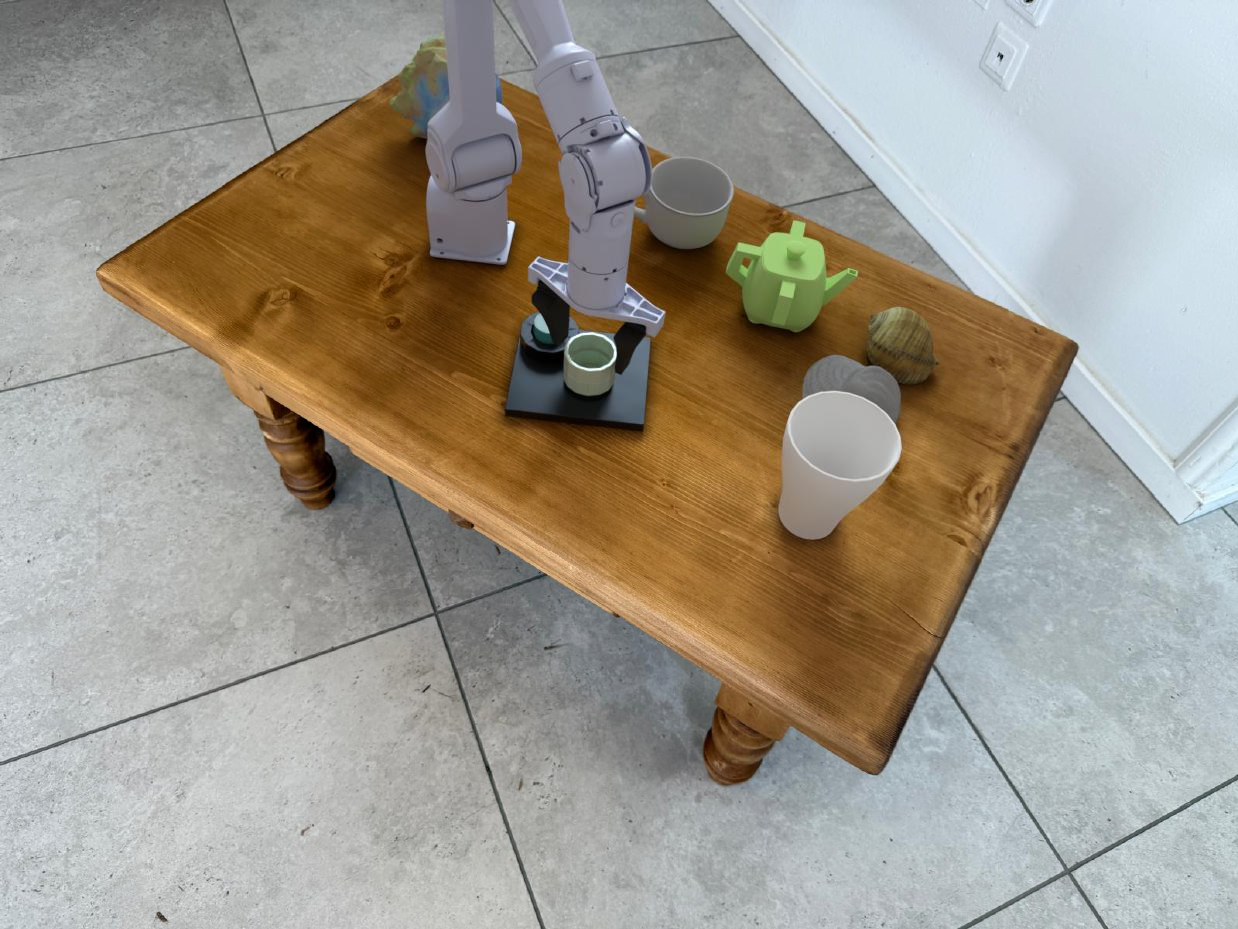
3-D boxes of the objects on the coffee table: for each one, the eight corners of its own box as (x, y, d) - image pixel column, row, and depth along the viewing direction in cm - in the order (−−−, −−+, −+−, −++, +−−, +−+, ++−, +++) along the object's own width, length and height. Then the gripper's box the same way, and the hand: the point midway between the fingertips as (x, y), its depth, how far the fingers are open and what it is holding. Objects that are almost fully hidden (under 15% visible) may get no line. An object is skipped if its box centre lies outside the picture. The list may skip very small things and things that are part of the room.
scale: (504, 416, 95) (504, 398, 93) (523, 325, 103) (522, 307, 101) (643, 431, 96) (645, 414, 93) (650, 340, 104) (653, 321, 101)
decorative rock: (467, 59, 107) (498, 5, 117) (352, 76, 112) (390, 23, 121) (503, 161, 118) (528, 104, 127) (396, 174, 122) (428, 117, 131)
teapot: (769, 355, 104) (789, 293, 96) (711, 295, 109) (726, 231, 101) (843, 322, 108) (868, 259, 100) (785, 265, 113) (804, 202, 105)
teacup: (724, 213, 119) (735, 161, 112) (722, 267, 112) (733, 215, 106) (621, 200, 119) (626, 147, 112) (613, 253, 112) (618, 201, 106)
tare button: (531, 342, 98) (531, 331, 97) (535, 320, 100) (536, 308, 99) (563, 346, 98) (564, 335, 97) (567, 323, 101) (568, 312, 99)
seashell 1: (795, 372, 102) (788, 429, 95) (816, 336, 98) (810, 392, 91) (888, 406, 103) (888, 465, 96) (912, 372, 99) (914, 431, 92)
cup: (831, 465, 95) (870, 382, 84) (875, 547, 89) (922, 469, 78) (741, 483, 92) (769, 400, 82) (779, 569, 87) (815, 492, 76)
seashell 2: (914, 391, 108) (953, 334, 105) (921, 400, 101) (963, 339, 99) (845, 350, 108) (882, 293, 106) (847, 356, 102) (887, 295, 99)
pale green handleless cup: (553, 385, 97) (554, 357, 93) (579, 353, 100) (581, 324, 96) (598, 406, 96) (600, 378, 92) (623, 373, 99) (626, 345, 95)
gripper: (685, 259, 84) (668, 357, 95) (554, 204, 87) (551, 304, 98) (652, 302, 80) (637, 399, 91) (516, 243, 83) (517, 343, 94)
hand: (590, 353), depth 94 cm, fingers open, 7 cm apart
